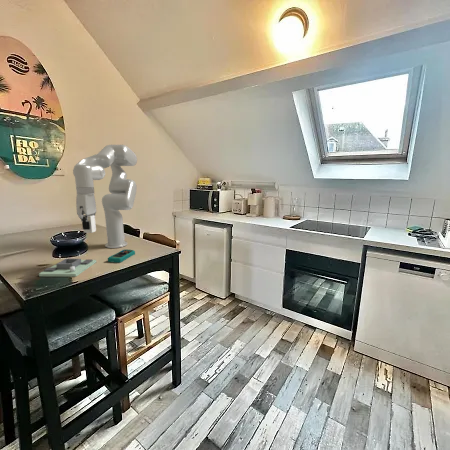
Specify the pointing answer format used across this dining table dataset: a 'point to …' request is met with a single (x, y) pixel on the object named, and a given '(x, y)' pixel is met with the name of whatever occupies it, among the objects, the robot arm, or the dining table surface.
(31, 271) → the dining table surface
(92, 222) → the plug
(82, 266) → the board
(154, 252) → the dining table surface
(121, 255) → the digital multimeter
